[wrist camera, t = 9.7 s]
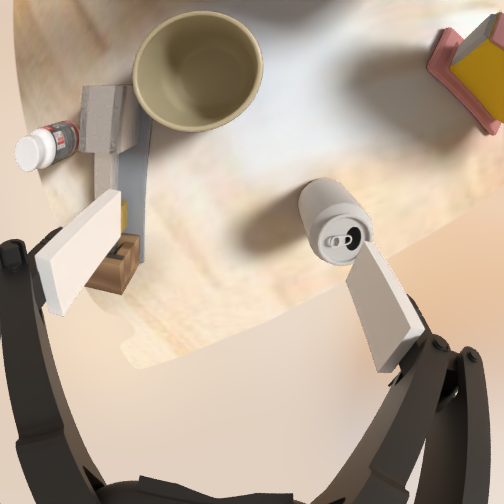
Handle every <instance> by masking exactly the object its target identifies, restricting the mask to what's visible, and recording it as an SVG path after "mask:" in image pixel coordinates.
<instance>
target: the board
mask: <svg viewBox="0 0 504 504" xmlns="http://www.w3.org/2000/svg"><path fill="white" fill-rule="evenodd" d="M103 86H105V85H103ZM151 123H152V118H151V117H150V116H149V115H148V114H147V113H146V112H145V110H144V109H143V110H142V119H141V128H140V138H139V144H137V145H135V146H133V147H131V148H129V149H127V150H125V151H123V152H121V153H119V165H118V191H121V200H128V226H127V227H126V228H125V230H124V231H123V233H129V234H135V235H140V263H144V222H145V195H146V177H147V164H148V152H149V141H150V132H151Z"/></svg>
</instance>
